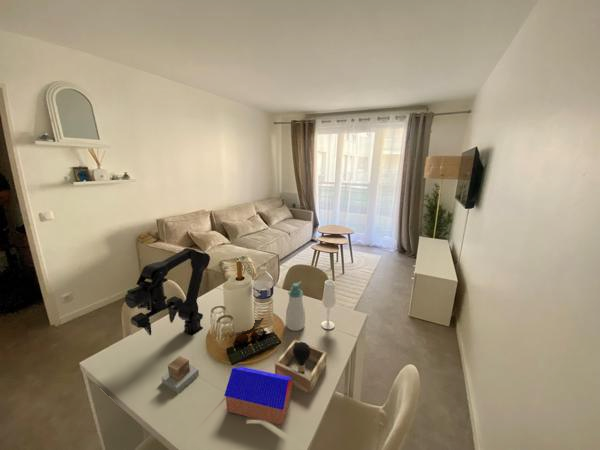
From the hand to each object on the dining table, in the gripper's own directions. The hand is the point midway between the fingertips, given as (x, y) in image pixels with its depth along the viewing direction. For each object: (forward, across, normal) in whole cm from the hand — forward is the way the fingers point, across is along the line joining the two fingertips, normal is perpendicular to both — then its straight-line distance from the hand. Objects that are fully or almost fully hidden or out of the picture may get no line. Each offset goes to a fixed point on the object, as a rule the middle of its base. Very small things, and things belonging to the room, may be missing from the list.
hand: (161, 328), depth 101 cm
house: (+12, -3, +50) cm, 52 cm away
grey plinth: (+12, +5, +18) cm, 22 cm away
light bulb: (+12, -21, +56) cm, 61 cm away
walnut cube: (+10, +5, +18) cm, 21 cm away
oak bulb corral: (+12, -21, +56) cm, 61 cm away
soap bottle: (+12, -44, +40) cm, 61 cm away
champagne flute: (+12, -53, +54) cm, 77 cm away
